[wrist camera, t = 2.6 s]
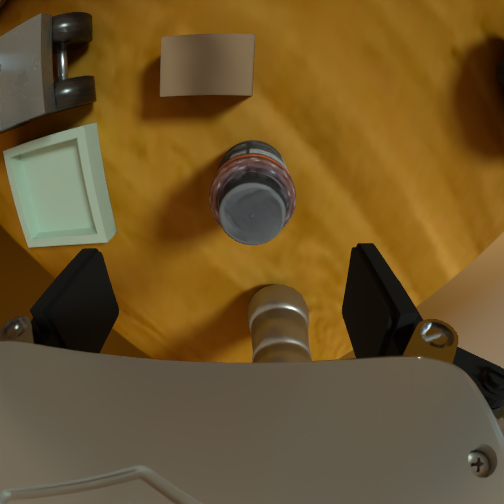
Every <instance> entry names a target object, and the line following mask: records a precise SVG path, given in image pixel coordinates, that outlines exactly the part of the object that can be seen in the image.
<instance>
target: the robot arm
mask: <svg viewBox="0 0 504 504" xmlns="http://www.w3.org/2000/svg"><path fill="white" fill-rule="evenodd" d="M30 312H31V314H32V316H33V319H32V321H31V320H30V319H29V318H28V317H26V316H18V317H15V318H13V319H11V320H9V321H8V322H6V324H4V326H3V327H2V328H1V330H0V504H504V369H503V368H501V367H500V366H497V365H495V364H493V363H491V362H489V361H487V360H485V359H483V358H480V357H478V356H476V355H474V354H472V353H469V352H467V351H465V350H463V349H461V348H459V347H457V345H458V335H457V333H456V331H455V330H454V329H453V328H452V327H451V326H450V325H449V324H447V323H445V322H443V321H441V320H437V319H426V320H423V319H422V317H421V316H420V314H419V312H418V311H417V309H416V307H415V306H414V304H413V302H412V301H411V299H410V297H409V296H408V294H407V293H406V291H405V289H404V288H403V286H402V285H401V283H400V282H399V280H398V279H397V278H396V276H395V275H394V273H393V272H392V270H391V269H390V267H389V266H388V264H387V263H386V261H385V260H384V258H383V257H382V255H381V254H380V252H379V251H378V249H377V248H376V246H375V245H374V244H373V243H358V244H357V246H356V247H353V248H352V251H351V257H350V264H349V270H348V277H347V283H346V289H345V295H344V300H343V306H342V315H343V319H344V322H345V325H346V328H347V331H348V334H349V337H350V340H351V343H352V347H353V350H354V353H355V356H356V358H351V359H336V360H322V361H303V362H272V363H218V362H189V361H171V360H156V359H144V358H133V357H123V356H115V355H106V354H99V353H100V351H101V349H102V347H103V345H104V343H105V341H106V339H107V337H108V335H109V333H110V331H111V329H112V327H113V325H114V323H115V321H116V319H117V317H118V314H119V308H118V304H117V301H116V298H115V295H114V292H113V289H112V286H111V282H110V279H109V276H108V272H107V269H106V265H105V262H104V258H103V255H102V253H101V252H99V251H98V249H96V248H89V249H82V250H81V251H80V252H79V253H78V254H77V255H76V257H75V258H74V259H73V260H72V261H71V262H70V263H69V264H68V265H67V267H66V268H65V269H64V270H63V271H62V272H61V273H60V274H59V276H58V277H57V278H56V279H55V280H54V281H53V283H52V284H51V285H50V286H49V287H48V289H47V290H46V291H45V292H44V293H43V295H42V296H41V297H40V298H39V300H38V301H37V302H36V303H35V304H34V306H33V307H32V308H31V309H30Z"/></svg>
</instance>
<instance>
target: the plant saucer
mask: <svg viewBox="0 0 504 504" xmlns="http://www.w3.org/2000/svg"><path fill="white" fill-rule="evenodd" d="M5 2H6V0H0V8H1V7H2V6H3V4H4V3H5Z"/></svg>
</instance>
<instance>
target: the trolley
mask: <svg viewBox="0 0 504 504" xmlns="http://www.w3.org/2000/svg"><path fill="white" fill-rule="evenodd" d="M91 41H92V16H91V15H90V14H88V13H84V12H72V13H65V14H60V15H57V16H53V17H52V15H49V14H44V13H40V14H38V15H37V16H35V17H33V18H31V19H29V20H27V21H26V22H24V23H22V24H20V25H19V26H17V27H15V28H14V29H12V30H10V31H9V32H7V33H5V34H4V35H2V36H1V37H0V134H2V133H4V132H7V131H10V130H12V129H15V128H18V127H20V126H23V125H25V124H28V123H29V120H31V119H33V118H36V117H42V116H46V115H50V114H53V113H57V112H61V111H65V110H68V109H72V108H76V107H79V106H83V105H86V104H89V103H93V102H95V101H96V92H95V80H94V76H81V77H74V78H70V79H68V63H67V51H70V50H74V49H77V48H79V47H82V46H84V45H86V44H88V43H89V42H91ZM54 54H57V68H58V82H55V83H54V82H53V65H52V55H54Z"/></svg>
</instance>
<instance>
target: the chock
mask: <svg viewBox="0 0 504 504" xmlns="http://www.w3.org/2000/svg"><path fill="white" fill-rule="evenodd" d="M254 51H255V36H254V34H196V35H181V36H170V37H162V42H161V66H160V97H166V96H188V95H247V96H252V93H253V72H254Z"/></svg>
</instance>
